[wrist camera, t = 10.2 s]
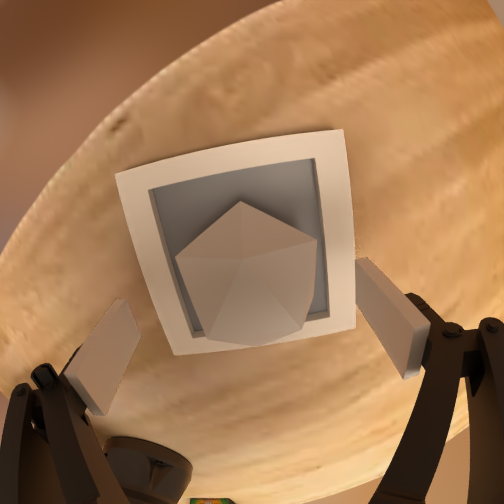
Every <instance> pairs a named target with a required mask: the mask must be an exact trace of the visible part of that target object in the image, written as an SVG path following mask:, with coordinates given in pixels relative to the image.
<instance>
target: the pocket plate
mask: <svg viewBox="0 0 504 504" xmlns="http://www.w3.org/2000/svg"><path fill="white" fill-rule="evenodd" d="M115 179H116V183H117V187H118V191H119V195H120V199H121V203H122V207H123V211H124V214H125V218H126V222H127V225H128V229H129V232H130V235H131V239H132V242H133V245H134V249H135V252H136V255H137V258H138V261H139V264H140V267H141V270H142V273H143V276H144V279H145V282H146V285H147V288H148V291H149V293H150V296H151V299H152V302H153V304H154V307H155V309H156V312H157V315H158V317H159V320H160V322H161V325H162V327H163V330H164V332H165V335H166V337H167V340H168V342H169V344H170V347H171V349H172V351H173V354H174V356H175V355H188V354H200V353H210V352H219V351H228V350H236V349H244V348H251V347H257V346H249V345H242V344H234V343H227V342H220V341H214V340H208V339H207V337H206V335H205V333H204V330H203V328H202V326H201V323H200V321H199V318H198V316H197V313H196V311H195V308H194V306H193V303H192V301H191V298H190V296H189V293H188V291H187V288H186V285H185V283H184V280H183V278H182V275H181V272H180V270H179V267H178V264H177V261H176V259H175V257H176V256H177V255H178V254H179V253H180V252H181V251H182V250H183V249H185V248H186V247H187V246H188V245H189V244H190V243H191V242H193V241H194V240H195V239H196V238H197V237H198V236H199V235H201V234H202V233H203V232H204V231H205V230H206V229H208V228H209V227H210V226H211V225H212V224H213V223H215V222H216V221H217V220H218V219H219V218H220V217H222V216H223V215H224V214H225V213H226V212H228V211H229V210H230V209H231V208H232V207H234V206H235V205H236V204H237V203H238V202H240V201H241V202H243V203H245V204H247V205H249V206H251V207H254V208H256V209H258V210H260V211H262V212H264V213H266V214H268V215H270V216H272V217H274V218H276V219H278V220H280V221H282V222H284V223H285V224H287V225H289V226H291V227H293V228H295V229H297V230H299V231H301V232H303V233H305V234H307V235H309V236H311V237H313V238H315V239H316V240H317V252H316V269H315V283H314V296H313V299H312V302H311V305H310V308H309V311H308V314H307V316H306V319H305V322H304V325H303V328H302V330H299V331H297V332H295V333H292V334H290V335H287V336H285V337H283V338H280V339H278V340H275V341H273V342H270V343H267V344H265V345H271V344H278V343H284V342H290V341H295V340H301V339H306V338H312V337H317V336H322V335H327V334H332V333H336V332H341V331H345V330H350V329H354V328H356V303H355V240H354V223H353V210H352V198H351V187H350V178H349V169H348V161H347V153H346V146H345V139H344V132H343V129H340V130H328V131H318V132H309V133H300V134H292V135H285V136H278V137H271V138H264V139H258V140H252V141H246V142H241V143H235V144H230V145H225V146H220V147H215V148H210V149H206V150H201V151H197V152H192V153H188V154H184V155H180V156H176V157H172V158H168V159H164V160H160V161H157V162H153V163H149V164H146V165H142V166H139V167H135V168H132V169H129V170H126V171H122V172H119V173H116V174H115ZM265 345H262V346H265Z"/></svg>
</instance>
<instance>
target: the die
mask: <svg viewBox="0 0 504 504" xmlns="http://www.w3.org/2000/svg"><path fill="white" fill-rule="evenodd" d="M316 252H317V240H316V239H315V238H313V237H311V236H309V235H307V234H305V233H303V232H301V231H299V230H297V229H295V228H293V227H291V226H289V225H287V224H285V223H284V222H282V221H280V220H278V219H276V218H274V217H272V216H270V215H268V214H266V213H264V212H262V211H260V210H258V209H256V208H254V207H251V206H249V205H247V204H245V203H243V202H241V201H240V202H238V203H237V204H236V205H235V206H234V207H232V208H231V209H230V210H229V211H228V212H226V213H225V214H224V215H223V216H222V217H220V218H219V219H218V220H217V221H216V222H215V223H213V224H212V225H211V226H210V227H209V228H208V229H206V230H205V231H204V232H203V233H202V234H201V235H199V236H198V237H197V238H196V239H195V240H194V241H193V242H191V243H190V244H189V245H188V246H187V247H186V248H185V249H183V250H182V251H181V252H180V253H179V254H178V255H177V256H176V257H175V259H176V261H177V264H178V267H179V270H180V272H181V275H182V278H183V280H184V283H185V285H186V288H187V291H188V293H189V296H190V298H191V301H192V303H193V306H194V308H195V311H196V313H197V316H198V318H199V321H200V323H201V326H202V328H203V330H204V333H205V335H206V337H207V339H208V340H214V341H220V342H227V343H234V344H242V345H249V346H257V347H260V346H262V345H265V344H267V343H270V342H273V341H275V340H278V339H280V338H283V337H285V336H287V335H290V334H292V333H295V332H297V331H299V330H302V328H303V325H304V322H305V319H306V316H307V314H308V311H309V308H310V305H311V302H312V299H313V296H314V283H315V269H316Z"/></svg>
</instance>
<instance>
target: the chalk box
mask: <svg viewBox="0 0 504 504" xmlns="http://www.w3.org/2000/svg"><path fill="white" fill-rule="evenodd" d="M190 504H235V503H234V502H232V501H231V500H230V499H190Z"/></svg>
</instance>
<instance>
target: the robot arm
mask: <svg viewBox="0 0 504 504" xmlns="http://www.w3.org/2000/svg"><path fill="white" fill-rule="evenodd" d="M355 303H356V304H357V306H358V307H359V309H360V310H361V312H362V313H363V315H364V317H365V318H366V320H367V321H368V323H369V324H370V326H371V328H372V329H373V331H374V332H375V334H376V335H377V337H378V339H379V340H380V342H381V343H382V345H383V347H384V348H385V350H386V352H387V353H388V355H389V357H390V358H391V360H392V362H393V363H394V365H395V367H396V368H397V370H398V372H399V373H400V375H401V377H402V378H403V380H405V379H408V378H411V377H413V376H416V375H419V372H420V368H421V365H422V366H423V367H424V369H425V370H426V371H425V375H424V378H423V381H422V385H421V388H420V391H419V394H418V397H417V400H416V403H415V406H414V408H413V411H412V414H411V416H410V419H409V422H408V424H407V427H406V429H405V432H404V434H403V436H402V439H401V441H400V443H399V446H398V448H397V450H396V452H395V454H394V456H393V459H392V461H391V463H390V465H389V467H388V469H387V471H386V473H385V475H384V477H383V478H382V480H381V482H380V484H379V486H378V488H377V489H376V491H375V493H374V495H373V496H372V498H371V500H370V501H369V503H368V504H425V497H426V494H427V492H428V489H429V487H430V485H431V482H432V479H433V477H434V474H435V472H436V469H437V466H438V463H439V460H440V458H441V455H442V452H443V448H444V445H445V442H446V439H447V435H448V431H449V428H450V424H451V420H452V416H453V412H454V407H455V403H456V398H457V393H458V387H459V381H460V378H462V377H465V383H466V391H467V400H468V411H469V426H470V476H469V490H468V500H467V504H504V324H503V322H502V321H500V320H499V319H497V318H492V317H488V318H484V319H483V320H481V322H480V324H479V327H478V329H472V330H464V329H463V328H462V326H460V325H458V324H456V323H453V322H445V321H444V320H443V319H442V318H441V317H440V316H439V315H438V314H437V313H436V312H435V311H434V310H433V309H432V308H430V306H429V305H428V304H427V303H426V302H425V301H424V300H423V299H422V298H421V297H420V296H418V295H416V294H413V293H408V294H403V293H402V292H401V291H400V290H399V289H398V288H397V287H396V285H395V284H394V283H393V282H392V281H391V280H390V279H389V278H388V277H387V276H386V275H385V274H384V273H383V272H382V271H381V270H380V269H379V268H378V267H377V266H376V265H375V264H374V263H373V262H372V261H371V260H369V259H368V258H367V257H366V258H361V259H356V260H355ZM141 336H142V335H141V333H140V331H139V329H138V326H137V324H136V322H135V319H134V317H133V314H132V312H131V310H130V307H129V305H128V302H127V299H126V298H123V299H115V301H114V302H113V303H112V305H111V306H110V307H109V309H108V310H107V311H106V313H105V314H104V315H103V317H102V318H101V319H100V321H99V322H98V324H97V325H96V326H95V328H94V329H93V331H92V332H91V333H90V335H89V336H88V338H87V339H86V341H85V342H84V343H83V344H82V345H81V346H80V347H79V348H77V349H76V351H75V352H74V354H73V355H72V357H71V358H70V359H69V362H67V364H66V365H65V367H64V368H63V370H62V371H61V373H60V374H59V376H58V375H57V373H56V371H55V370H54V368H53V367H52V365H51V364H49V363H44V364H41V365H39V366H38V367H36V368H35V369H34V370H33V372H32V373H31V378H32V380H33V381H34V383H35V384H36V386H37V387H38V388H39V389H37V390H32V388H31V387H30V386H29V384H28V383H22V384H19V385H18V386H16V387H15V389H14V390H13V392H12V394H11V398H10V402H9V406H8V410H7V415H6V419H5V424H4V429H3V434H2V441H1V446H0V504H177V503H178V501H179V500H180V498H181V496H182V495H183V493H184V491H185V489H186V488H187V486H188V484H189V483H190V481H191V476H192V466H191V464H190V463H189V462H188V461H187V460H186V459H185V458H184V457H182V456H181V455H179V454H177V453H175V452H173V451H171V450H169V449H167V448H164V447H162V446H159V445H156V444H154V443H150V442H147V441H143V440H139V439H134V438H128V437H114V438H110V439H108V440H107V441H106V444H105V447H104V450H103V451H102V449H101V447H100V444H99V442H98V440H97V438H96V435H95V433H94V430H93V428H92V426H91V423H90V420H89V418H88V416H87V415H86V413H85V410H86V408H87V407H88V409H89V410H90V411H91V413H92V414H93V415H99V416H106V414H107V412H108V409H109V407H110V405H111V402H112V400H113V398H114V395H115V393H116V391H117V388H118V386H119V384H120V382H121V379H122V377H123V375H124V373H125V371H126V368H127V366H128V364H129V362H130V360H131V358H132V355H133V353H134V351H135V349H136V347H137V345H138V343H139V341H140V339H141ZM31 422H32V423H33V424H34V425H35V426H34V428H33V426H32V424H31Z"/></svg>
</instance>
